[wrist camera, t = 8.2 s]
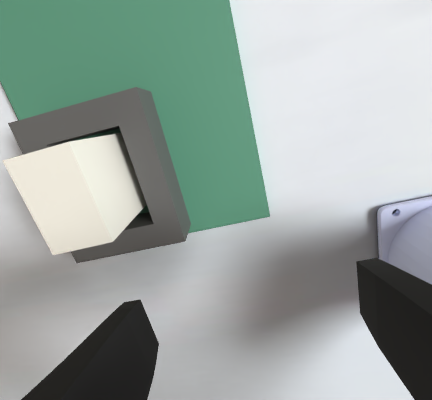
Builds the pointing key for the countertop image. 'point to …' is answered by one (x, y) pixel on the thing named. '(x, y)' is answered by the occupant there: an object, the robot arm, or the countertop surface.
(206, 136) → the board
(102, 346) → the robot arm
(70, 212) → the plug
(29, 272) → the countertop surface
